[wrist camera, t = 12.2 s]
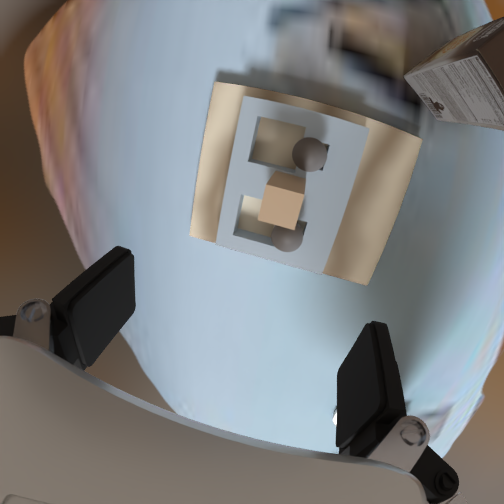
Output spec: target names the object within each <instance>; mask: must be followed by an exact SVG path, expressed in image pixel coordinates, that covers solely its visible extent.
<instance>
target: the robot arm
mask: <svg viewBox="0 0 504 504" xmlns="http://www.w3.org/2000/svg"><path fill="white" fill-rule="evenodd" d="M52 301H53V302H52V303H51V304H50V305H49V304H48V303H47V302H46V301H45V300H42V299H30V300H28V301H26V302H24V303H23V304H22V305H21V306H20V307H19V308H18V311H17V314H16V315H12V316H5V317H0V504H468V503H467V501H466V500H465V498H464V496H463V494H462V493H461V492H460V493H457V489H458V486H459V479H458V476H457V473H456V472H455V471H454V469H453V468H452V467H450V466H449V465H448V464H447V463H446V462H445V461H444V460H443V459H442V458H441V457H440V456H439V455H438V454H437V453H435V452H434V451H433V450H432V449H431V448H430V447H429V446H428V445H427V444H428V442H429V438H430V434H429V430H428V427H427V426H426V424H425V423H424V422H423V421H422V420H421V419H419V418H418V417H415V416H407V414H406V407H405V401H404V396H403V390H402V385H401V380H400V375H399V370H398V365H397V362H396V361H395V356H394V352H393V347H392V343H391V339H390V335H389V331H388V327H387V324H385V323H381V322H376V321H372V322H371V323H370V324H369V323H367V324H366V325H365V326H364V328H363V330H362V332H361V333H360V335H359V337H358V338H357V340H356V342H355V343H354V345H353V347H352V348H351V350H350V352H349V353H348V355H347V357H346V358H345V360H344V361H343V363H342V364H341V366H340V368H339V370H338V373H337V409H336V410H335V412H334V414H333V423H334V424H335V426H336V447H339V454H332V453H325V452H319V451H313V450H307V449H301V448H296V447H291V446H285V445H281V444H276V443H271V442H267V441H263V440H258V439H254V438H250V437H247V436H243V435H239V434H236V433H232V432H229V431H225V430H222V429H218V428H215V427H212V426H209V425H206V424H203V423H200V422H197V421H194V420H191V419H188V418H186V417H183V416H180V415H178V414H175V413H172V412H169V411H167V410H165V409H162V408H160V407H157V406H155V405H152V404H150V403H148V402H146V401H143V400H141V399H139V398H137V397H134V396H132V395H130V394H128V393H126V392H124V391H121V390H119V389H117V388H115V387H113V386H111V385H109V384H107V383H105V382H103V381H102V380H100V379H98V378H96V377H94V376H92V375H90V374H89V373H87V372H85V371H84V370H85V369H86V367H87V366H88V367H90V366H91V365H92V364H93V363H94V362H95V361H96V359H97V358H98V357H99V355H100V354H101V353H102V352H103V350H104V349H105V348H106V346H107V345H108V344H109V343H110V341H111V340H112V339H113V338H114V336H115V335H116V334H117V333H118V332H119V330H120V329H121V328H122V327H123V325H124V324H125V323H126V322H127V320H128V319H129V318H130V317H131V316H132V314H133V313H134V311H135V307H136V304H135V279H134V255H133V254H131V250H129V249H126V248H124V247H121V246H116V247H114V248H113V249H112V250H111V251H109V252H108V253H107V254H105V255H104V256H103V257H102V258H100V259H99V260H98V261H97V262H95V263H94V264H93V265H92V266H90V267H89V268H88V269H87V270H85V271H84V272H83V273H82V274H81V275H79V276H78V277H77V278H76V279H75V280H73V281H72V282H71V283H70V284H69V285H67V286H66V287H65V288H64V289H63V290H62V291H60V292H59V293H58V294H57V295H56V296H55V297H54V298H52Z"/></svg>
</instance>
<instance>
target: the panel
mask: <svg viewBox="0 0 504 504" xmlns="http://www.w3.org/2000/svg"><path fill="white" fill-rule="evenodd" d="M261 117H265V118H270V119H274V120H279V121H283V122H287V123H291V124H295V125H299V126H303V127H306V130H305V134H304V138H306V137H312V138H316V139H318V140H319V141H321V142H322V143H325V144H328V147H327V160H326V163H325V164H324V166H323V167H322V168H321V169H319V170H317V171H314V172H306V171H303V170H301V169H299V168H298V167H297V166H296V169H295V170H294V169H290V168H287V167H283V166H279V165H275V164H271V163H267V162H263V161H259V160H255V159H252V156H253V151H254V147H255V142H256V137H257V133H258V128H259V124H260V119H261ZM368 133H369V128H367V127H364V126H361V125H358V124H355V123H352V122H349V121H346V120H342V119H339V118H336V117H333V116H329V115H326V114H322V113H319V112H315V111H311V110H307V109H304V108H300V107H296V106H291V105H287V104H283V103H278V102H274V101H269V100H264V99H259V98H254V97H248V96H244V97H243V101H242V106H241V111H240V115H239V120H238V125H237V130H236V135H235V140H234V145H233V150H232V155H231V160H230V165H229V170H228V176H227V181H226V186H225V192H224V197H223V203H222V209H221V214H220V220H219V226H218V232H217V238H216V244H215V245H218V246H221V247H225V248H228V249H232V250H236V251H239V252H243V253H246V254H250V255H253V256H257V257H260V258H264V259H267V260H271V261H274V262H278V263H281V264H285V265H289V266H292V267H296V268H299V269H303V270H306V271H310V272H313V273H317V274H321V275H322V273H323V270H324V268H325V265H326V262H327V260H328V257H329V254H330V252H331V249H332V246H333V243H334V241H335V238H336V235H337V232H338V229H339V226H340V224H341V221H342V218H343V215H344V212H345V209H346V206H347V203H348V200H349V197H350V194H351V190H352V187H353V184H354V181H355V178H356V175H357V171H358V168H359V165H360V161H361V158H362V154H363V151H364V147H365V144H366V140H367V137H368ZM244 195H246V196H250V197H254V198H257V199H261V200H262V203H261V208H260V212H259V216H258V220H259V221H263V222H266V223H270V224H274V225H277V226H281V227H284V228H288V229H292V230H295V226H296V223H297V219H298V220H302V221H305V222H306V224H305V227H304V231H303V241H302V244H301V246H300V247H299V248H298V249H297V250H295V251H292V252H283V251H280V250H278V249H277V248H276V247H275V246H274V245H273V243H272V241H271V237H268V236H264V235H260V234H257V233H253V232H250V231H246V230H242V229H239V228H238V223H239V218H240V213H241V208H242V203H243V198H244Z"/></svg>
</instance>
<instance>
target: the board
mask: <svg viewBox="0 0 504 504" xmlns="http://www.w3.org/2000/svg"><path fill="white" fill-rule="evenodd" d="M244 96H248V97H254V98H259V99H264V100H269V101H274V102H278V103H283V104H287V105H291V106H296V107H300V108H304V109H307V110H311V111H315V112H319V113H322V114H326V115H329V116H333V117H336V118H339V119H342V120H346V121H349V122H352V123H355V124H358V125H361V126H364V127H367V128H369V133H368V137H367V140H366V144H365V147H364V151H363V154H362V158H361V161H360V165H359V168H358V171H357V175H356V178H355V181H354V184H353V187H352V190H351V194H350V197H349V200H348V203H347V206H346V209H345V212H344V215H343V218H342V221H341V224H340V226H339V229H338V232H337V235H336V238H335V241H334V243H333V246H332V249H331V252H330V254H329V257H328V260H327V262H326V265H325V268H324V270H323V274H327V275H330V276H334V277H337V278H341V279H345V280H348V281H352V282H355V283H359V284H362V285H366V286H367V285H368V283H369V281H370V279H371V277H372V275H373V272H374V270H375V268H376V266H377V264H378V261H379V259H380V257H381V254H382V252H383V250H384V247H385V245H386V243H387V240H388V238H389V235H390V233H391V231H392V228H393V225H394V223H395V220H396V218H397V215H398V213H399V210H400V207H401V205H402V202H403V199H404V196H405V193H406V191H407V188H408V185H409V182H410V179H411V176H412V173H413V170H414V166H415V163H416V160H417V157H418V153H419V150H420V147H421V143H422V140H423V139H421V138H418V137H416V136H414V135H412V134H409V133H407V132H405V131H402V130H400V129H397V128H395V127H392V126H390V125H387V124H384V123H382V122H379V121H376V120H374V119H371V118H368V117H365V116H362V115H359V114H356V113H353V112H350V111H347V110H344V109H341V108H337V107H334V106H331V105H327V104H324V103H320V102H316V101H313V100H309V99H305V98H301V97H297V96H293V95H288V94H284V93H279V92H275V91H270V90H265V89H259V88H254V87H248V86H242V85H236V84H229V83H222V82H214V87H213V92H212V97H211V102H210V107H209V112H208V117H207V122H206V128H205V133H204V139H203V145H202V151H201V157H200V163H199V169H198V176H197V183H196V190H195V197H194V204H193V211H192V219H191V227H190V236H192V237H196V238H199V239H203V240H206V241H210V242H214V243H216V238H217V232H218V226H219V220H220V214H221V209H222V203H223V197H224V192H225V186H226V181H227V176H228V170H229V165H230V160H231V155H232V150H233V145H234V140H235V135H236V130H237V125H238V120H239V115H240V111H241V106H242V101H243V97H244ZM305 130H306V127H303V126H299V125H295V124H291V123H287V122H283V121H279V120H274V119H270V118H265V117H261V119H260V124H259V128H258V133H257V137H256V142H255V147H254V151H253V156H252V159H255V160H259V161H263V162H267V163H271V164H275V165H279V166H283V167H287V168H290V169H294V170H295V169H296V166H297V167H298V168H299V169H301V170H303V171H306V172H314V171H317V170H319V169H321V168H322V167H323V166H324V164H325V163H326V160H327V147H328V144H325V143H322V142H321V141H319V140H318V139H316V138H312V137H306V138H304V134H305ZM261 203H262V200H261V199H257V198H254V197H250V196H246V195H244V198H243V203H242V208H241V213H240V218H239V223H238V228H239V229H242V230H246V231H250V232H253V233H257V234H260V235H264V236H268V237H271V241H272V243H273V245H274V246H275V247H276V248H277V249H278V250H280V251H283V252H292V251H295V250H297V249H298V248H299V247H300V246H301V244H302V241H303V231H304V227H305V224H306V222H305V221H302V220H298V219H297V223H296V226H295V230H292V229H288V228H284V227H281V226H277V225H274V224H270V223H266V222H263V221H259V220H258V216H259V212H260V208H261Z"/></svg>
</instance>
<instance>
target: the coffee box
mask: <svg viewBox="0 0 504 504" xmlns="http://www.w3.org/2000/svg"><path fill="white" fill-rule="evenodd" d="M404 78H405V80H406V81H407V82H408V83H409V85H410V86H411V87H412V88H413V89H414V91H415V92H416V93H417V94H418V96H419V97H420V98H421V99H422V101H423V102H424V103H425V105H426V106H427V107H428V109H429V110H430V111H431V113H432V114H433V115H434V117H435V118H436V120H438V121H446V122H454V123H462V124H470V125H475V126H482V127H488V128H493V129H498V130H503V131H504V17H502V18H499V19H497V20H494V21H492V22H489V23H487V24H485V25H482V26H480V27H478V28H476V29H473V30H471V31H469V32H467V33H465V34H462V35H460V36H458V37H456V38H454V39H452V40H450V41H449V42H448V43H446V44H445V45H443V46H442V47H441V48H439V49H438V50H437V51H435V52H434V53H433V54H431V55H430V56H429V57H427V58H426V59H425V60H423V61H422V62H421V63H419V64H418V65H417V66H415V67H414V68H413V69H411V70H410V71H409V72H408V73H406V74H405V75H404Z"/></svg>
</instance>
